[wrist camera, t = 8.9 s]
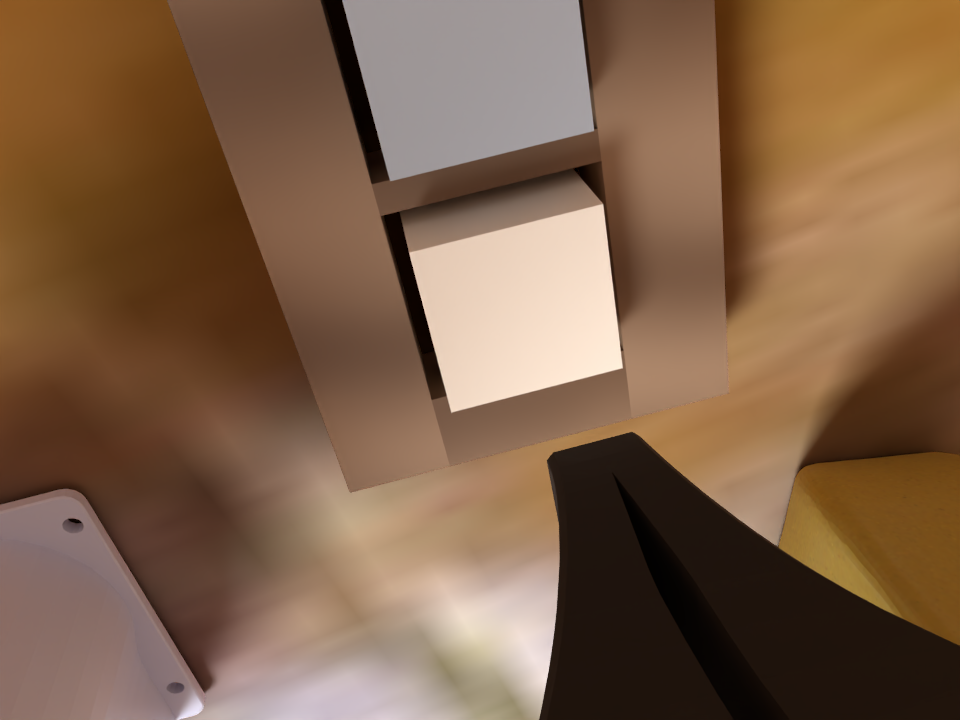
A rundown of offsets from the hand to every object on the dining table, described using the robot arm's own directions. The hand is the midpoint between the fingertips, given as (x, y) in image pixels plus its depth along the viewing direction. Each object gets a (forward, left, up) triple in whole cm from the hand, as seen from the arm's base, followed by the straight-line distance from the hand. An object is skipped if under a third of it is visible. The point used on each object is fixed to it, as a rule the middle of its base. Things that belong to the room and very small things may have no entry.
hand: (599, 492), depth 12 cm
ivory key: (0, 0, -9) cm, 9 cm away
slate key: (+6, 0, -9) cm, 10 cm away
